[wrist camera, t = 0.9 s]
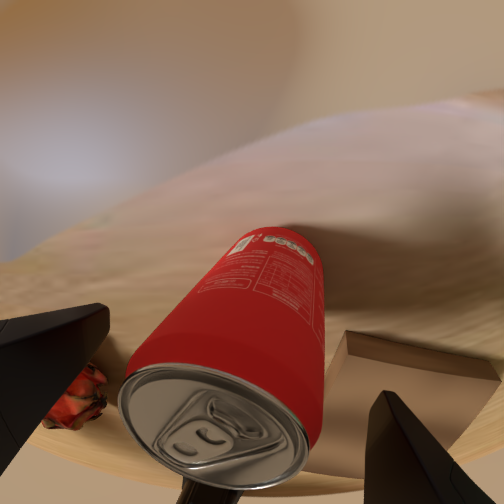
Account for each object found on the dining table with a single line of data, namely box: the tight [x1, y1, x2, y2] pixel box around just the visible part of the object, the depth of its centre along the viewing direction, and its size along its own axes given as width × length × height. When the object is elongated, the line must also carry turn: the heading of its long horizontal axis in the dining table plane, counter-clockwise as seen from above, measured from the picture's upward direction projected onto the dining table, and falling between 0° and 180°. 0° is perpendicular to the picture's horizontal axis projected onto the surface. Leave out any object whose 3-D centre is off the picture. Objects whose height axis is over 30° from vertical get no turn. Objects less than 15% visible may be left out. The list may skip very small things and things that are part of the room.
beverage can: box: [117, 227, 325, 490], centre depth 12 cm, size 5×5×12 cm
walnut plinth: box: [301, 331, 502, 479], centre depth 18 cm, size 12×12×2 cm
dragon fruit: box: [41, 363, 108, 431], centre depth 21 cm, size 8×8×12 cm
